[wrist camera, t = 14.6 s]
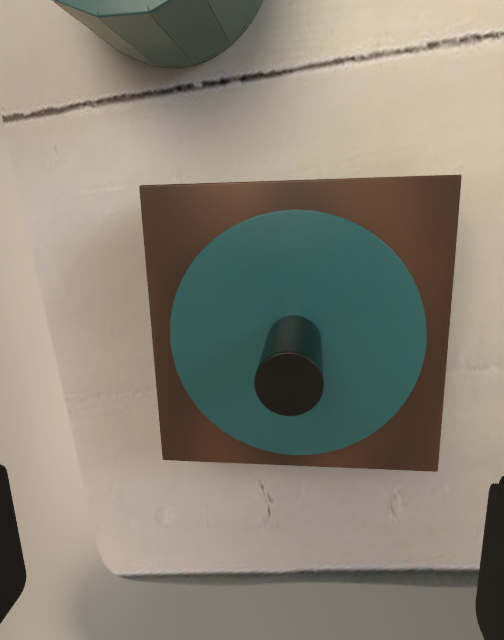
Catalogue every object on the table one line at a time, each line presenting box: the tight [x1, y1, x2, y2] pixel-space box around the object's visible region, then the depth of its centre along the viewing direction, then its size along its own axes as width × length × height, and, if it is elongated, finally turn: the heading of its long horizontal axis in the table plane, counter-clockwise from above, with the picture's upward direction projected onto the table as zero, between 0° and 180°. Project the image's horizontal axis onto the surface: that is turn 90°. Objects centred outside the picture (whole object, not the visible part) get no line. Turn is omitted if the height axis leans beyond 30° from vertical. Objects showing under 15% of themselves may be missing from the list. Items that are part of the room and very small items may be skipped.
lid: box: [170, 209, 427, 455], centre depth 21 cm, size 12×12×7 cm
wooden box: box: [139, 175, 461, 471], centre depth 27 cm, size 15×15×7 cm
